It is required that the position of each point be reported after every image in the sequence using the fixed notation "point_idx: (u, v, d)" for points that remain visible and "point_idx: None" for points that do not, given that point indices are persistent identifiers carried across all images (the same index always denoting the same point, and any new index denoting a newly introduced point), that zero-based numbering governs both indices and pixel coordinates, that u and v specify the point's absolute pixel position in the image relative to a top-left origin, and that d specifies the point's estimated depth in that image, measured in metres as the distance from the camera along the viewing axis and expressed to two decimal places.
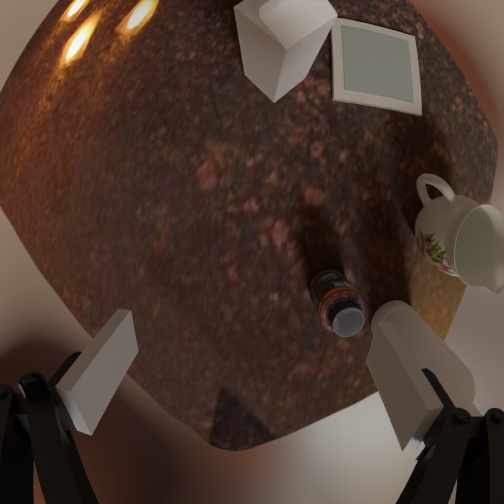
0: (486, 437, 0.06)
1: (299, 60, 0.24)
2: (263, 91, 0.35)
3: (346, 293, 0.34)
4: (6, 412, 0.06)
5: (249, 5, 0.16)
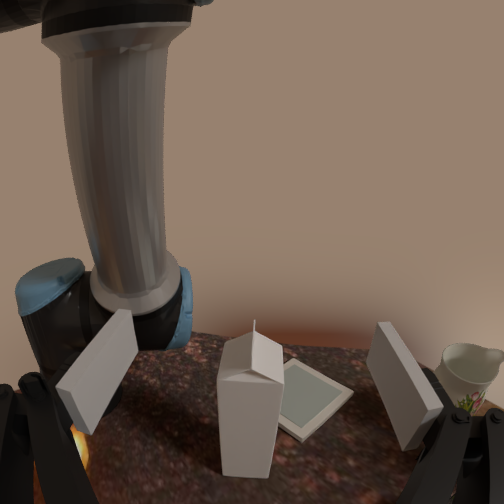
0: (486, 437, 0.06)
1: None
2: (252, 475, 0.29)
3: None
4: (6, 412, 0.06)
5: (229, 370, 0.24)
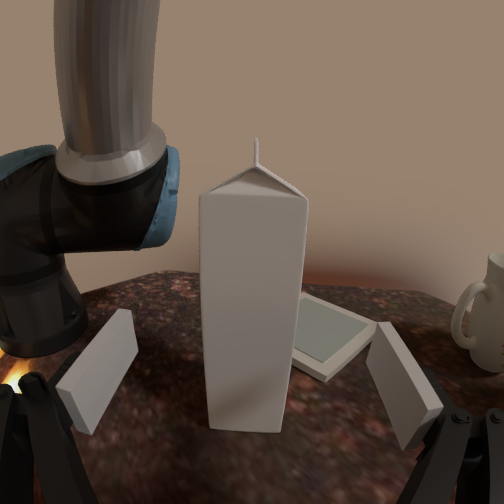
0: (486, 437, 0.06)
1: None
2: (255, 427, 0.21)
3: None
4: (6, 412, 0.06)
5: None
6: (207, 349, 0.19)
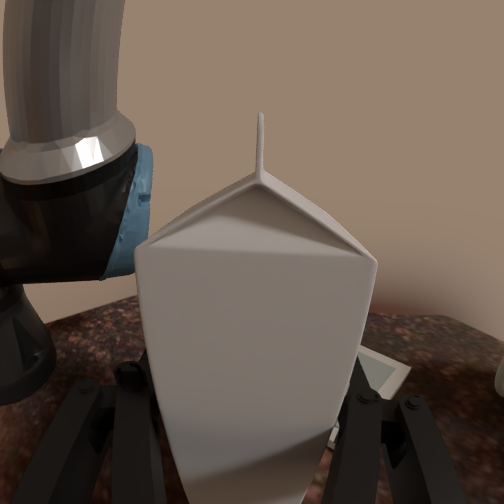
0: (406, 426, 0.08)
1: None
2: None
3: None
4: (87, 409, 0.08)
5: (182, 217, 0.07)
6: (183, 470, 0.10)
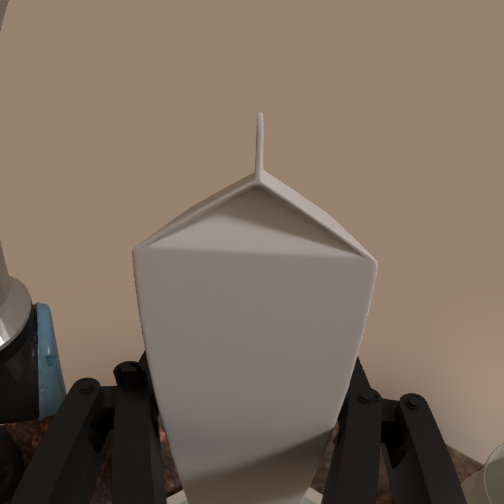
0: (406, 426, 0.08)
1: None
2: None
3: None
4: (87, 409, 0.08)
5: (181, 218, 0.07)
6: (182, 471, 0.10)
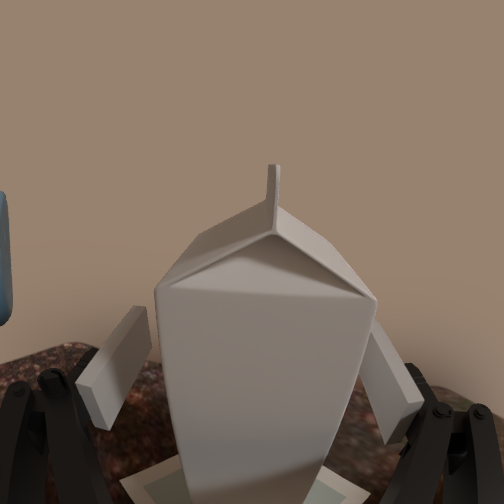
0: (470, 433, 0.07)
1: None
2: None
3: None
4: (22, 410, 0.07)
5: (199, 258, 0.08)
6: (190, 480, 0.10)
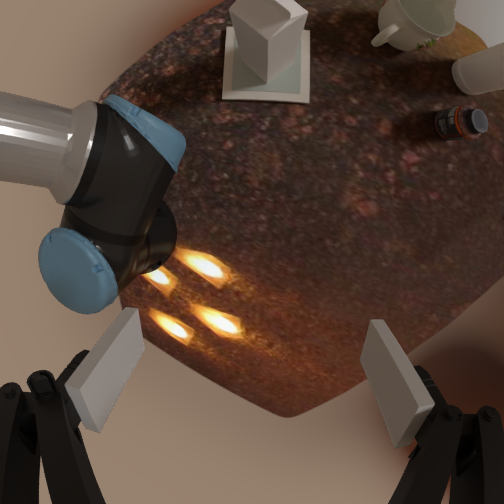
0: (479, 435, 0.06)
1: None
2: (284, 68, 0.40)
3: (460, 117, 0.34)
4: (13, 411, 0.07)
5: (270, 28, 0.23)
6: (269, 66, 0.33)
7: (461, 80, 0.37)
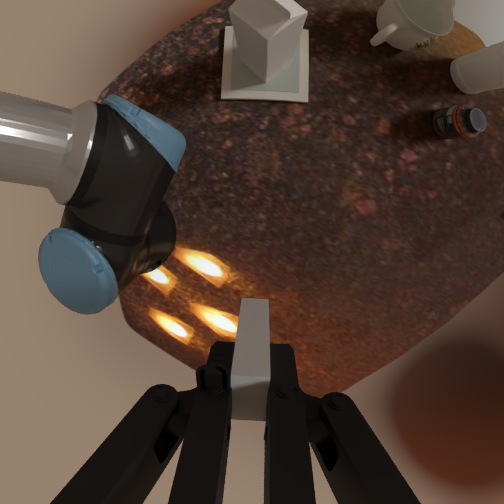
0: (332, 429, 0.08)
1: None
2: (283, 68, 0.40)
3: (458, 116, 0.34)
4: (159, 419, 0.08)
5: (270, 27, 0.23)
6: (268, 66, 0.33)
7: (459, 79, 0.37)
